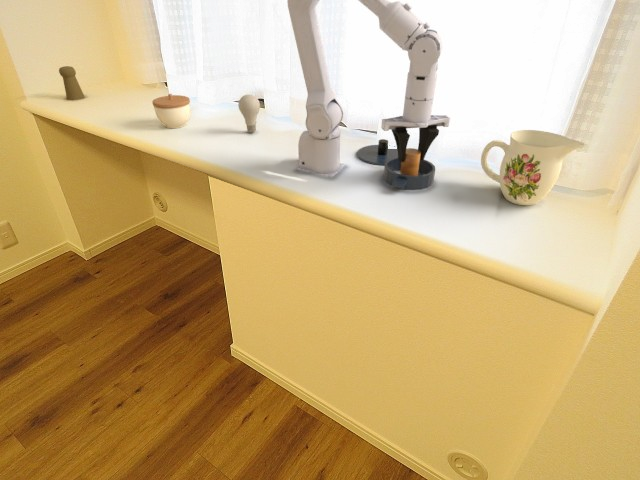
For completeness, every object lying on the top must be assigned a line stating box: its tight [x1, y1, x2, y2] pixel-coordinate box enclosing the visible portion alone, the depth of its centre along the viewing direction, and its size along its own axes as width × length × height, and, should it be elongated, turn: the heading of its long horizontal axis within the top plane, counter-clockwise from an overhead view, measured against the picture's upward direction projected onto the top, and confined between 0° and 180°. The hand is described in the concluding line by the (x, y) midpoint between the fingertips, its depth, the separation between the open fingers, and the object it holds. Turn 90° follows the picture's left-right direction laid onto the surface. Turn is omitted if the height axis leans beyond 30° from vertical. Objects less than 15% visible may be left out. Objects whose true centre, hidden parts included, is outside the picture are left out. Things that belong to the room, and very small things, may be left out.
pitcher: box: [480, 129, 587, 206], centre depth 83 cm, size 11×18×14 cm, turn 51°
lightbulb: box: [238, 93, 261, 134], centre depth 118 cm, size 6×6×11 cm
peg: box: [399, 147, 421, 176], centre depth 91 cm, size 4×4×7 cm
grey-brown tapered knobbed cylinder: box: [58, 65, 86, 101], centre depth 149 cm, size 6×6×11 cm
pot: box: [383, 157, 436, 191], centre depth 93 cm, size 11×17×4 cm
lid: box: [356, 138, 398, 166], centre depth 104 cm, size 13×13×4 cm
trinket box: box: [152, 93, 192, 129], centre depth 124 cm, size 11×11×9 cm
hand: (410, 159), depth 91 cm, fingers closed on peg, 4 cm apart
